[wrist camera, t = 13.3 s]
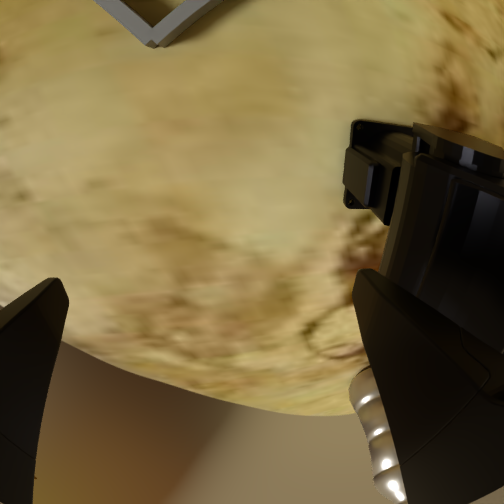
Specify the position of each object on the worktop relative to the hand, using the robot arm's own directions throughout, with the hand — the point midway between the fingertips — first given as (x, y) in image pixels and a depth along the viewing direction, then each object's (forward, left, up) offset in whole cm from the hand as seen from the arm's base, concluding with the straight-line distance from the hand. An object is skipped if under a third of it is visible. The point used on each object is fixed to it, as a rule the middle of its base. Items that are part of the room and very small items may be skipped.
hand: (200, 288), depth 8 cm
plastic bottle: (-17, +26, -13) cm, 34 cm away
